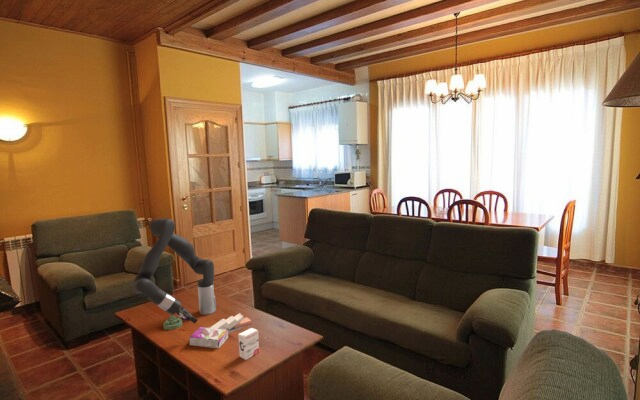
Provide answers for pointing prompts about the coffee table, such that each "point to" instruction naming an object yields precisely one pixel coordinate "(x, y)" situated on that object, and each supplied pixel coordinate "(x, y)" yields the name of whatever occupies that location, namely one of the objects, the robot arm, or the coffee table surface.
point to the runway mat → (233, 329)
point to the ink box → (248, 343)
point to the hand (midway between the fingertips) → (196, 321)
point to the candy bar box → (208, 337)
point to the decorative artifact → (172, 323)
